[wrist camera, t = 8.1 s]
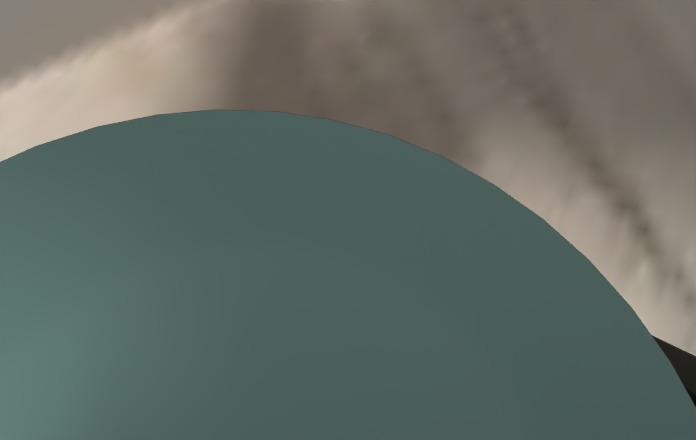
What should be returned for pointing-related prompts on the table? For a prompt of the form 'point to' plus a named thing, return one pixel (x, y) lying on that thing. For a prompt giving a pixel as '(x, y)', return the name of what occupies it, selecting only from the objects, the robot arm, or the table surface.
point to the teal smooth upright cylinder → (302, 295)
